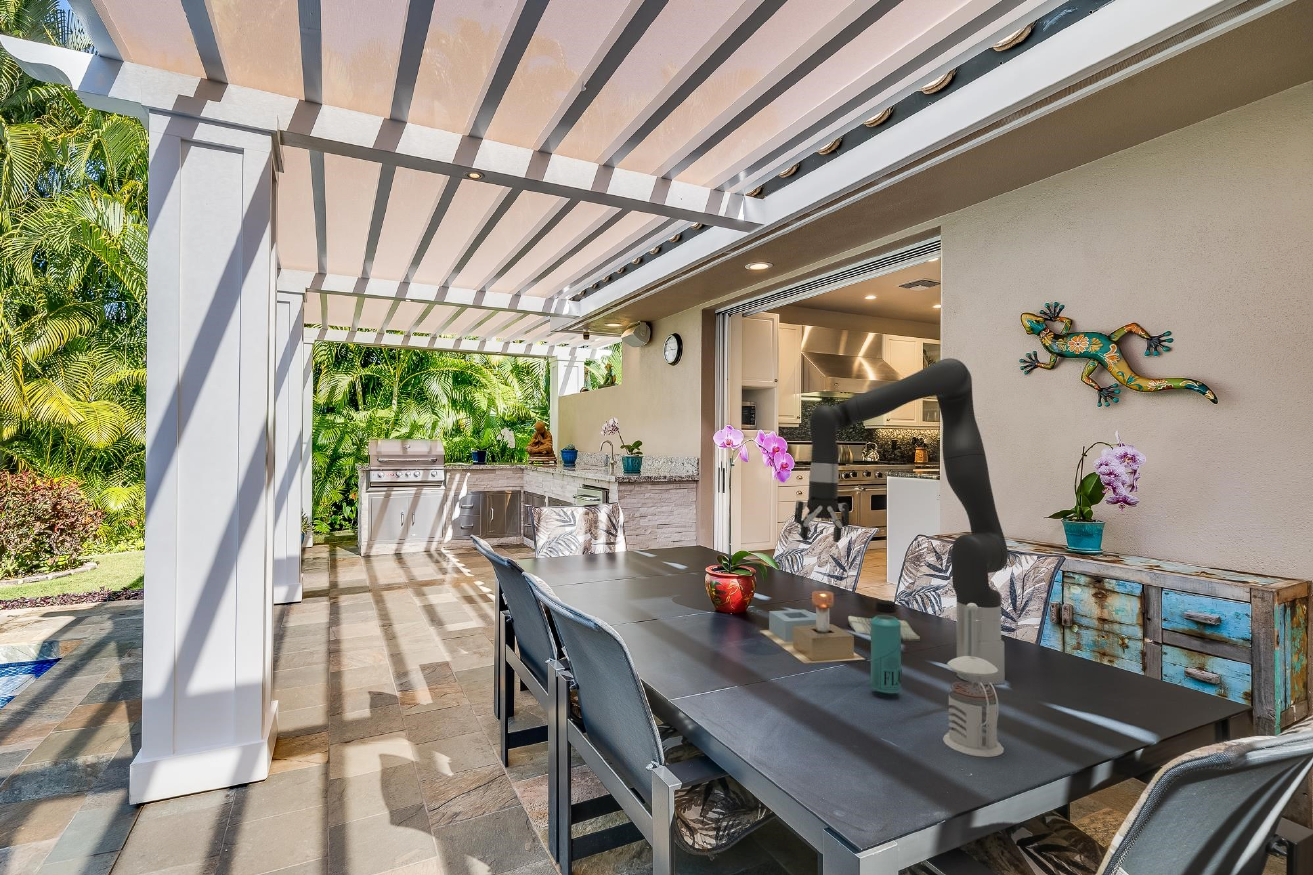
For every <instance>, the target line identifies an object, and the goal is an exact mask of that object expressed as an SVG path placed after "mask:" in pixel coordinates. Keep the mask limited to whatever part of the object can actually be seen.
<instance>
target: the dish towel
mask: <svg viewBox="0 0 1313 875" xmlns="http://www.w3.org/2000/svg"><path fill="white" fill-rule="evenodd" d="M872 619H873V618H869V617H868V618H867V617H862V616H860V617H859V616H853V615H849V616H848V617H847V620H848V623H849V626H850V628H851V629H853V630H854V631H855V633H856V634H865V635H867V636H869V637H871V623H870V621H871V620H872ZM898 620H899V621H900V623H901V635H902V636H901V641H902V642H915V641H920V642H921V639H920V638H921V637H920V636H919V635H917V633H916V632H915V631H914V630H913V629H912V627H911V626H910V624H909V623H908V622H907V621H906V620H900V619H898Z"/></svg>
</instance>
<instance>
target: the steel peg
mask: <svg viewBox="0 0 1313 875" xmlns="http://www.w3.org/2000/svg"><path fill="white" fill-rule="evenodd" d="M811 601H812V603H811V605H812V606H813V607H815V615H816V632H817V633H818V634H824V633H829V624H830V608H833V607H834V592H832V591H827V590H813V591H812V594H811Z"/></svg>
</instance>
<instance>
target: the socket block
mask: <svg viewBox="0 0 1313 875" xmlns="http://www.w3.org/2000/svg"><path fill="white" fill-rule="evenodd" d="M768 617H769V618H768V624H769V625H768V630H769V631H770V632H771V633H773V634H774V635H776V636H777V637H778V638H780V639H781V640H783V641H784V642H793V626H807V625H816V614H814V613H813V612H811V611H809V610H807V609H789V610H771V611H770V610H769V611H768Z"/></svg>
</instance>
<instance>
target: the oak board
mask: <svg viewBox="0 0 1313 875" xmlns="http://www.w3.org/2000/svg"><path fill="white" fill-rule="evenodd" d="M759 634H763V635H765V637H768V638H769V639H770V640H772V641H773V642H774V643H776V644H777V645H778V646H780V647H781V648H783V649H784V650H786V652H788V653H789V654H791V655H792V656H794V657H795V658H797V659H798V660H799V661H800V662H802V663H803V664H814V663H815V664H817V663H818V664H819V663H828V662H829V663H832V662H843V661H844V662H845V661H858V660H859V661H860V660H862V661H863V660H865V658H864V657H862V656H861V655H859V654H857V653H856V652H854V658H852V659H838V660H823V661H811V660H810V659H808V658H807V657H806V656H804V655H803V654H801V653H800V652H798V651H797V650H796V649H794V648H793V642H784V641H783V640H781V639H780V638H778V637H777V636H776V635H774V634H773V633H771V632H770V631H769V629H763V630H760V629H759Z"/></svg>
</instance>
